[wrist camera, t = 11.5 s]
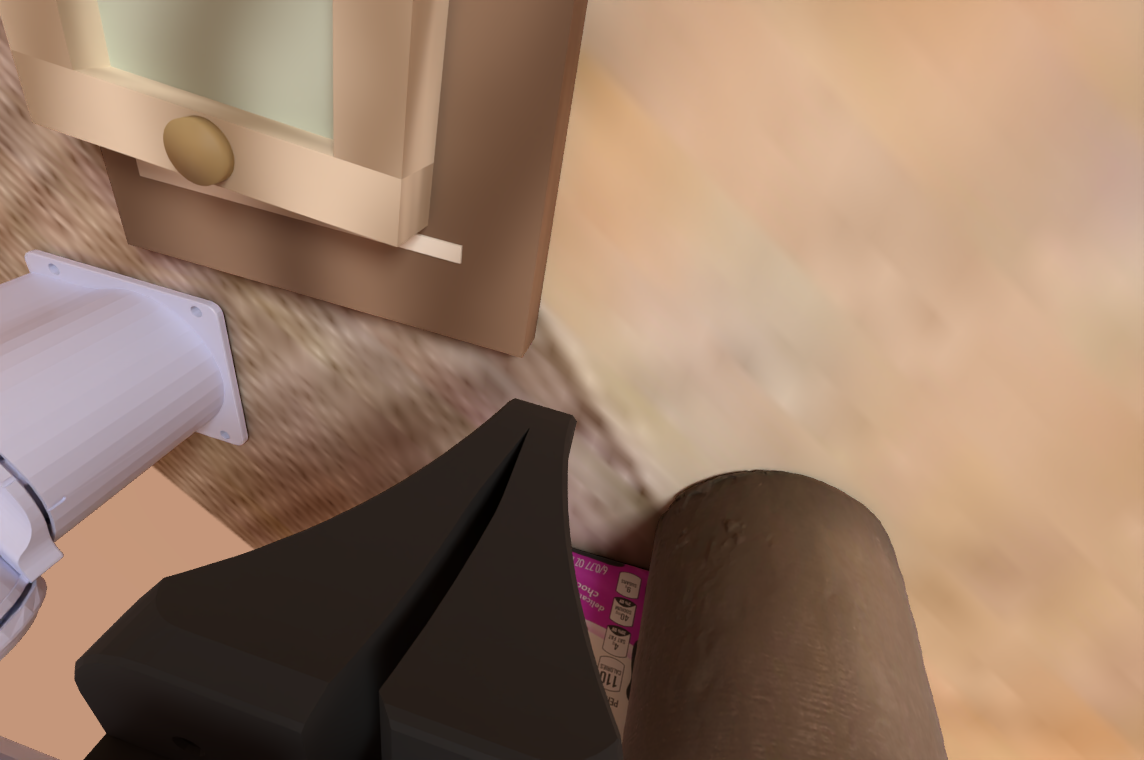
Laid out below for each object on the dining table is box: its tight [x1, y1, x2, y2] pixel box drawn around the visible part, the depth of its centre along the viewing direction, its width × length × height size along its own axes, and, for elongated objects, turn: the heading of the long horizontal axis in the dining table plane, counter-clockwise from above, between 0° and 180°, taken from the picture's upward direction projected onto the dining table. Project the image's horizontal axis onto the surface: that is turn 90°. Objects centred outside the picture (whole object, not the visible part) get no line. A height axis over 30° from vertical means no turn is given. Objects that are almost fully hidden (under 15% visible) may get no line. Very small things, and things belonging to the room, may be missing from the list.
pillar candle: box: [622, 470, 948, 760], centre depth 19 cm, size 10×10×15 cm
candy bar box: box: [572, 548, 649, 740], centre depth 22 cm, size 11×5×16 cm, turn 82°
